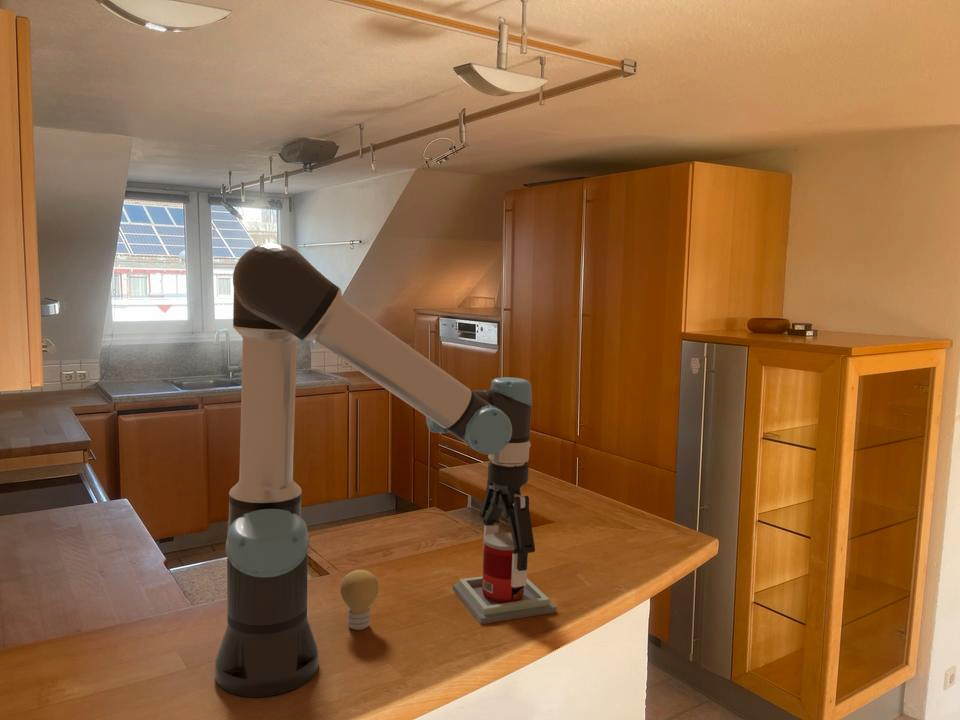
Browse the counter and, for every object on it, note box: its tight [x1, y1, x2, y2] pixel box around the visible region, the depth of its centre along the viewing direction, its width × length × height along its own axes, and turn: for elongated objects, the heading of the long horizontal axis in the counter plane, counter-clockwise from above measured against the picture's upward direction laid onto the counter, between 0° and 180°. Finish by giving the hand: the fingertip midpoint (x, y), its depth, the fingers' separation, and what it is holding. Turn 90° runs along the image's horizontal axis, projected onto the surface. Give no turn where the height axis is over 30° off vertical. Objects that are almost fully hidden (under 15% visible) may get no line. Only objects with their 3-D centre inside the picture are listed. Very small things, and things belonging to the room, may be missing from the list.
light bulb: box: [340, 569, 379, 631], centre depth 123 cm, size 6×6×10 cm
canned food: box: [482, 531, 524, 603], centre depth 135 cm, size 8×8×11 cm
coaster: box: [452, 575, 557, 625], centre depth 136 cm, size 15×15×2 cm
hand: (503, 571), depth 136 cm, fingers open, 13 cm apart
